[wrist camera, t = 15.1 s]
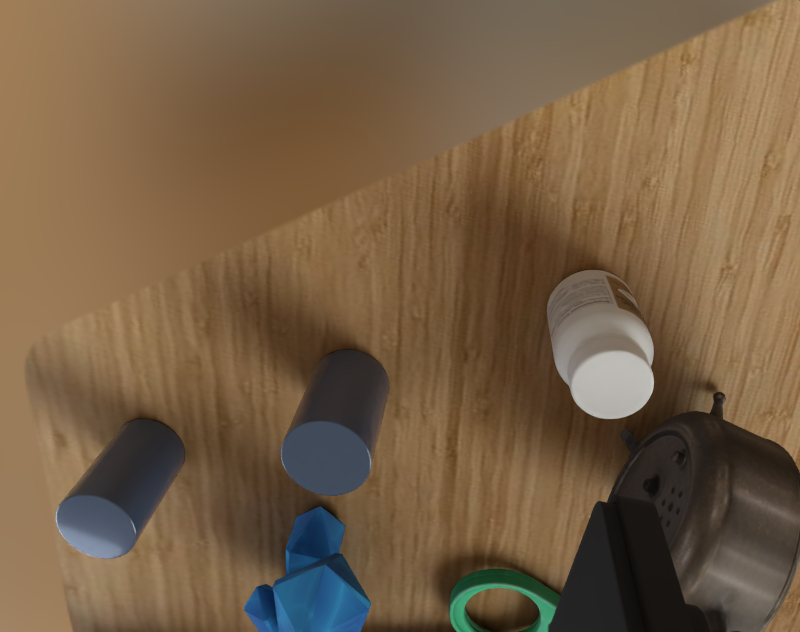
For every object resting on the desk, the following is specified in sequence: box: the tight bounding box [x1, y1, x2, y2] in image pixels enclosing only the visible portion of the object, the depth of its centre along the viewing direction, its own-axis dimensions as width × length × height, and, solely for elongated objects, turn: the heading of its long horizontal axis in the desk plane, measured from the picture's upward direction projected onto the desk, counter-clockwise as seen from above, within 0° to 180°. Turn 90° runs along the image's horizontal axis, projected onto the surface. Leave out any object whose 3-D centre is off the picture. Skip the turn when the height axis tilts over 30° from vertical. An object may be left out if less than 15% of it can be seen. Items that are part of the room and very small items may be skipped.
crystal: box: [244, 506, 371, 632], centre depth 43 cm, size 7×9×12 cm
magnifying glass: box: [449, 569, 561, 632], centre depth 46 cm, size 15×6×2 cm, turn 82°
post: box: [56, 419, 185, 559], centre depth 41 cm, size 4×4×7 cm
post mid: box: [281, 350, 390, 496], centre depth 38 cm, size 4×4×7 cm
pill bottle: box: [547, 270, 654, 419], centre depth 34 cm, size 4×4×8 cm
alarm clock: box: [607, 392, 800, 632], centre depth 33 cm, size 11×5×16 cm, turn 157°
